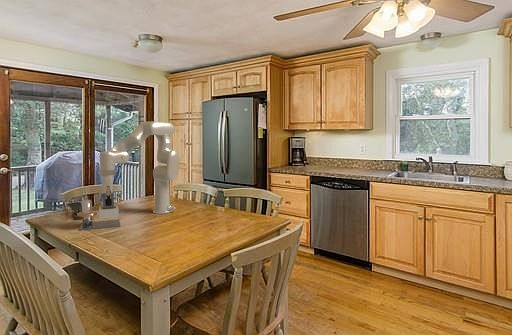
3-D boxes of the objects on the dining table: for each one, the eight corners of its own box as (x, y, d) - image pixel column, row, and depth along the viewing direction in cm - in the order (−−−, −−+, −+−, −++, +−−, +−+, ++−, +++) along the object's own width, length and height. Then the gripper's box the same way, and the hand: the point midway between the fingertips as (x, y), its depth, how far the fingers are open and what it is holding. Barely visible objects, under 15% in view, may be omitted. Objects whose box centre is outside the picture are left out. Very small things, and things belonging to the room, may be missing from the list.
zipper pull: (81, 201, 211) (91, 208, 193) (81, 211, 212) (91, 218, 193) (66, 203, 206) (74, 210, 187) (66, 213, 206) (75, 220, 187)
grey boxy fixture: (119, 221, 188) (118, 196, 186) (120, 226, 176) (119, 200, 175) (78, 225, 178) (77, 199, 177) (76, 231, 167) (75, 203, 165)
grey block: (114, 209, 181) (113, 192, 180) (114, 210, 178) (113, 193, 178) (103, 210, 179) (102, 192, 178) (103, 211, 176) (102, 193, 175)
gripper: (100, 172, 182) (101, 202, 184) (100, 175, 168) (101, 208, 169) (114, 171, 186) (115, 201, 187) (115, 174, 171) (116, 207, 173)
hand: (108, 204), depth 178 cm, fingers closed on grey block, 3 cm apart
